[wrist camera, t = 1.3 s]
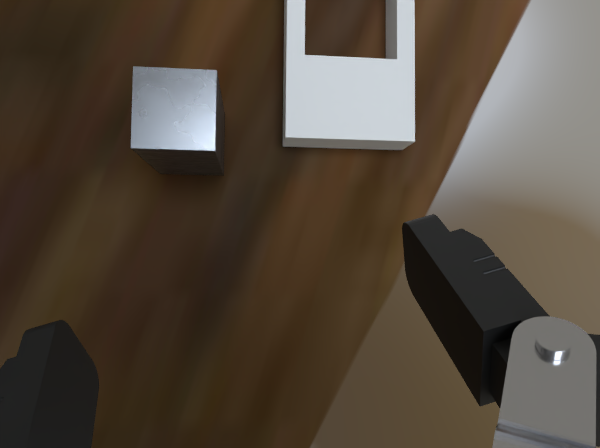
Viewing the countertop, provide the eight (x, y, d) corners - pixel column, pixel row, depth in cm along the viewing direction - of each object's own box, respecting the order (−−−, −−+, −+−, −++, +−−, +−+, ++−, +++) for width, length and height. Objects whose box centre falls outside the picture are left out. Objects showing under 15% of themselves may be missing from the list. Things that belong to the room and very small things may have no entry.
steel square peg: (160, 173, 36) (130, 148, 27) (162, 112, 36) (133, 66, 28) (223, 175, 37) (215, 150, 28) (224, 114, 37) (216, 70, 28)
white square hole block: (282, 146, 37) (285, 137, 34) (285, -89, 38) (288, -118, 35) (401, 150, 38) (414, 141, 35) (401, -81, 39) (414, -108, 36)
